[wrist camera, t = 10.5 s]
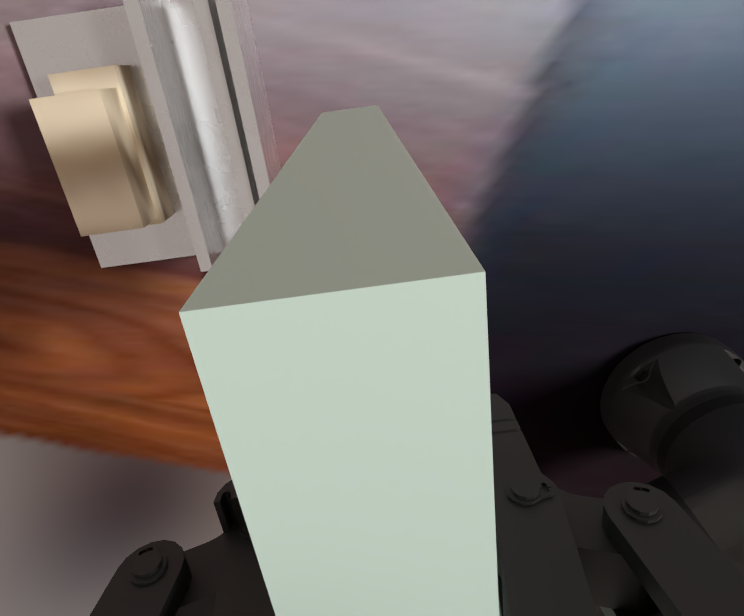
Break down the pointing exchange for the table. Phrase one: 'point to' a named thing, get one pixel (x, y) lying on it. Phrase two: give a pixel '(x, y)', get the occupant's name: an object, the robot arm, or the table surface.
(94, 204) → the offcut upper
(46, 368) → the table surface
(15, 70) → the table surface
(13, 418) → the table surface
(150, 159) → the offcut lower
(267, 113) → the rack
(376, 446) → the board
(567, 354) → the table surface
